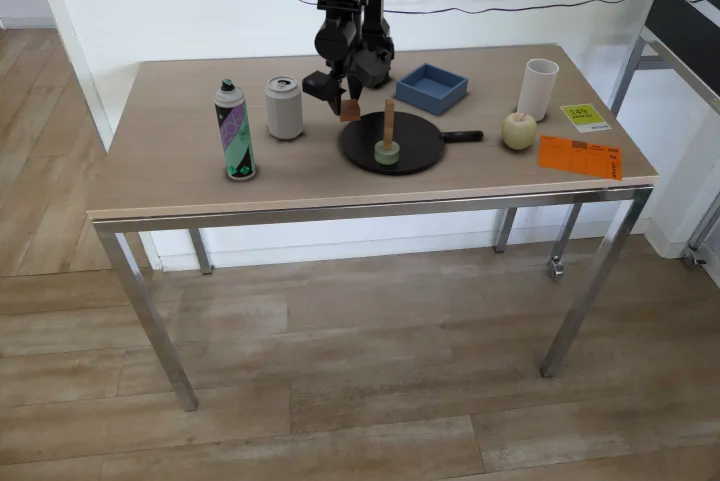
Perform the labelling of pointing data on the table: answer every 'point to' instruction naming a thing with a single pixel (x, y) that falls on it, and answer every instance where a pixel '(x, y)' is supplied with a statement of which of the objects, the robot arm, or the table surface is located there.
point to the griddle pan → (398, 142)
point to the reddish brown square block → (349, 110)
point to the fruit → (518, 130)
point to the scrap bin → (431, 88)
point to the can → (284, 107)
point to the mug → (537, 87)
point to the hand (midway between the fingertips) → (345, 109)
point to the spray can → (234, 130)
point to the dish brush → (387, 138)
